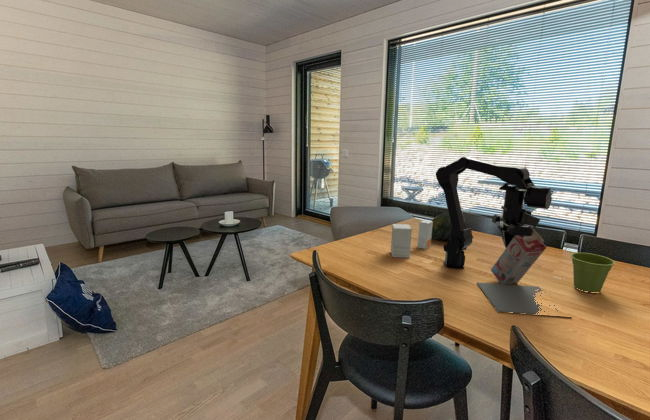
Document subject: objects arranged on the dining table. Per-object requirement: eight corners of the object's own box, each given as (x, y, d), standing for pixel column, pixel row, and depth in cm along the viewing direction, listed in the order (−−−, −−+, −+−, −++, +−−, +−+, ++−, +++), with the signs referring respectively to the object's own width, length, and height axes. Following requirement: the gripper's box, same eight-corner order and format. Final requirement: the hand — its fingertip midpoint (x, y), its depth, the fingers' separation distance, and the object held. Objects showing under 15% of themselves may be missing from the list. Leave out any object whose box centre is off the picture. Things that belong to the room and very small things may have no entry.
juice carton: (501, 285, 119) (535, 241, 105) (490, 269, 124) (522, 225, 110) (517, 283, 121) (553, 239, 107) (506, 268, 126) (538, 224, 111)
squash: (420, 224, 178) (435, 206, 166) (445, 223, 182) (460, 206, 171) (430, 248, 170) (446, 231, 158) (456, 247, 174) (473, 230, 163)
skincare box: (425, 249, 155) (428, 223, 152) (416, 247, 158) (419, 222, 155) (430, 246, 160) (433, 221, 157) (422, 244, 162) (424, 219, 160)
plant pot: (566, 279, 125) (572, 249, 123) (608, 289, 118) (615, 257, 116) (563, 290, 116) (569, 258, 114) (608, 301, 109) (615, 267, 107)
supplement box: (407, 252, 151) (409, 224, 148) (409, 258, 143) (412, 228, 141) (390, 251, 151) (392, 223, 149) (391, 257, 144) (393, 227, 141)
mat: (497, 312, 100) (497, 310, 100) (476, 283, 120) (476, 282, 120) (571, 318, 98) (571, 316, 98) (538, 288, 118) (538, 286, 118)
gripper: (553, 211, 107) (545, 259, 110) (526, 200, 125) (520, 241, 129) (515, 209, 108) (508, 257, 112) (493, 199, 126) (488, 240, 130)
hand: (507, 248), depth 120 cm, fingers closed
